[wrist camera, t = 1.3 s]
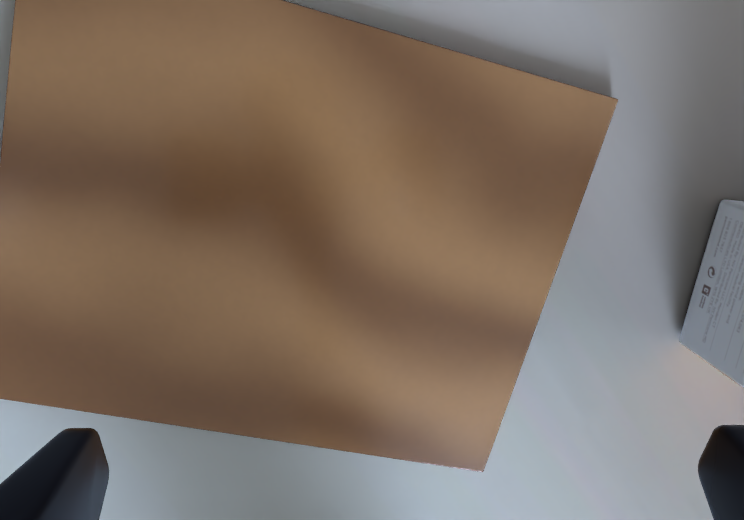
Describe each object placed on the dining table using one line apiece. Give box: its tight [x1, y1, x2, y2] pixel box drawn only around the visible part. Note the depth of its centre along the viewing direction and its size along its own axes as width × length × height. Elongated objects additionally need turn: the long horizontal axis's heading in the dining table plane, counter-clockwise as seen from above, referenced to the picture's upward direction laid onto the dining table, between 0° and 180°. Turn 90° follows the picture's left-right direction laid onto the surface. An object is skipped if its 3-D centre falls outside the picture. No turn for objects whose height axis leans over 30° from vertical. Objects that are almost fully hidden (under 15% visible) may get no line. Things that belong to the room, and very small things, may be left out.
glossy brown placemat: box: [0, 0, 618, 472], centre depth 22 cm, size 16×20×1 cm
